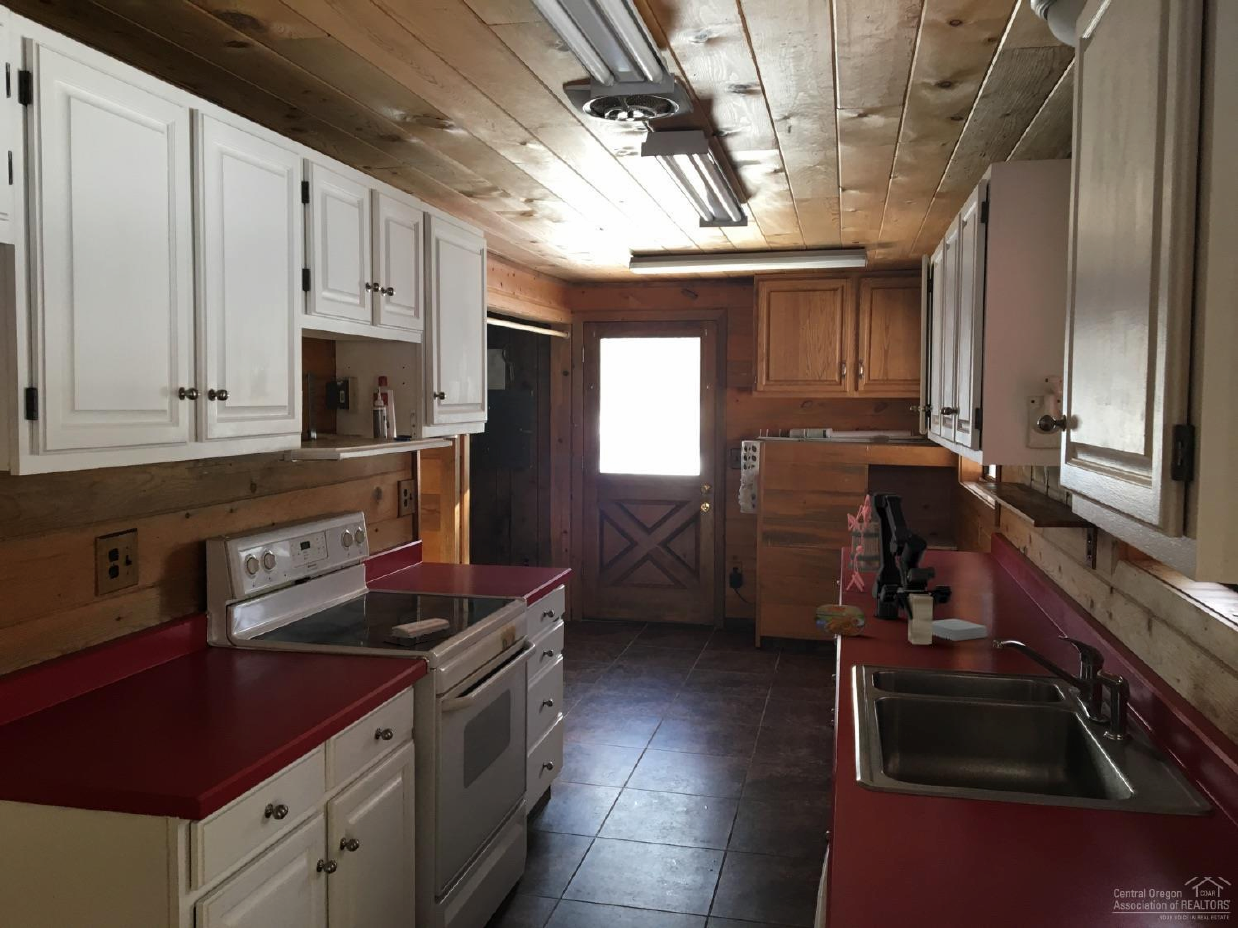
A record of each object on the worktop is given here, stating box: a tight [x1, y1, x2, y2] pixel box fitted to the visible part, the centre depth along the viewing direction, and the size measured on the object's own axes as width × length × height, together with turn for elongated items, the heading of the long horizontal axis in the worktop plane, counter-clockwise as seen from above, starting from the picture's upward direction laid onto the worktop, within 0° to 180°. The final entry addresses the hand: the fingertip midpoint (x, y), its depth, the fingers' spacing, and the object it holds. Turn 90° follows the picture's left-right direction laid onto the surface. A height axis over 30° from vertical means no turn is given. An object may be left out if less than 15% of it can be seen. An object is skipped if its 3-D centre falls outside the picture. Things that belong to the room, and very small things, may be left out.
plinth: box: [932, 618, 988, 642], centre depth 272 cm, size 12×12×3 cm
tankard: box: [846, 520, 901, 571], centre depth 392 cm, size 24×17×20 cm
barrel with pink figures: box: [841, 494, 872, 594], centre depth 343 cm, size 15×26×35 cm, turn 160°
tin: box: [813, 604, 868, 637], centre depth 273 cm, size 15×3×8 cm, turn 62°
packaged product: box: [391, 617, 451, 638], centre depth 265 cm, size 18×5×10 cm
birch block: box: [907, 594, 933, 645], centre depth 262 cm, size 5×5×13 cm
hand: (921, 619), depth 260 cm, fingers closed on birch block, 5 cm apart
